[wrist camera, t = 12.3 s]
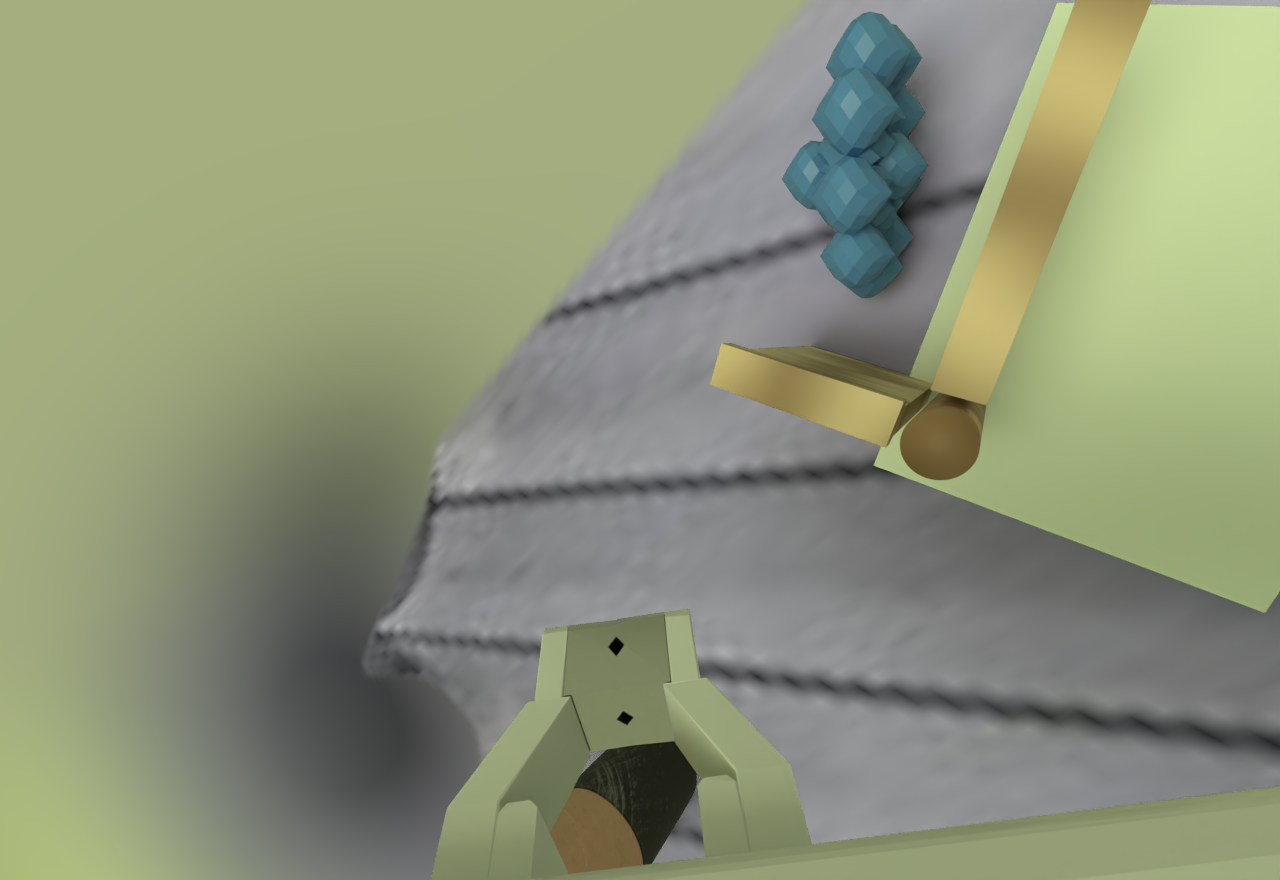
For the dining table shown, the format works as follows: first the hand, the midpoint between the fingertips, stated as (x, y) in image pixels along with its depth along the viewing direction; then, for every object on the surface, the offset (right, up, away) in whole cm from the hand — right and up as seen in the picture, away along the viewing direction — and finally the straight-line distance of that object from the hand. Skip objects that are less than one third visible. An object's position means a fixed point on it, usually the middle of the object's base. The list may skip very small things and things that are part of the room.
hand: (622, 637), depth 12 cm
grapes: (+14, +18, +21) cm, 31 cm away
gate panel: (+20, +14, +17) cm, 29 cm away
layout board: (+25, +10, +15) cm, 31 cm away
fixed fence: (+15, +8, +22) cm, 28 cm away
